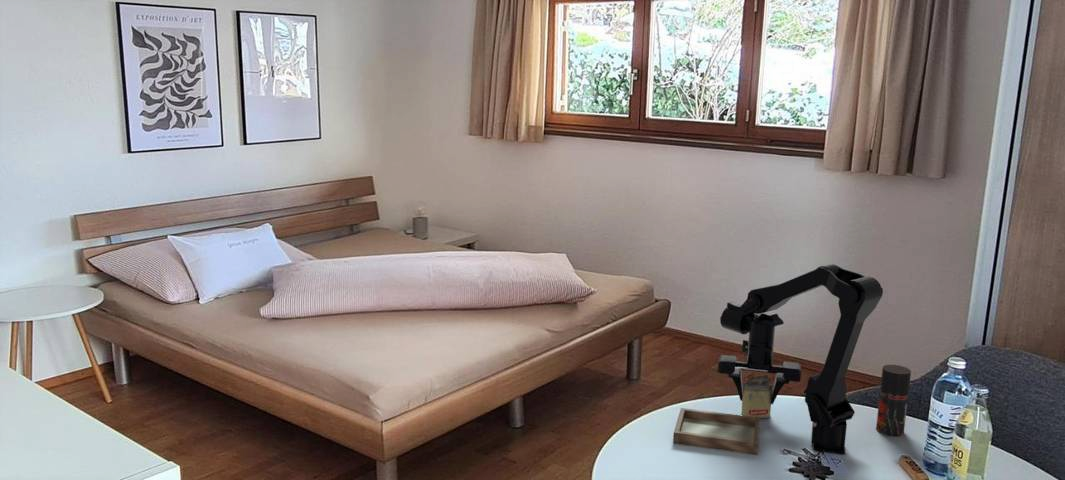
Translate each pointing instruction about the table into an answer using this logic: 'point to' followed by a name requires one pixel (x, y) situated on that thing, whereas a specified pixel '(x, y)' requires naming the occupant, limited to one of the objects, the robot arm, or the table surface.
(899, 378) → the deodorant
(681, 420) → the tray
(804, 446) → the table surface
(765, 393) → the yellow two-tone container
